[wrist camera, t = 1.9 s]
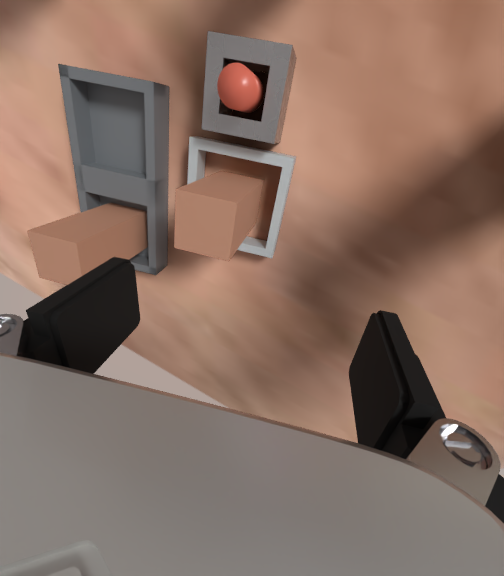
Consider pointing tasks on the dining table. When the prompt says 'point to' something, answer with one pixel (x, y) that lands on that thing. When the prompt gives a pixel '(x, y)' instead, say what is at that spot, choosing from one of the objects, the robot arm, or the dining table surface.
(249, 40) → the grey square holder
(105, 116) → the grey two-slot rack
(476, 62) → the dining table surface
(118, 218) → the block
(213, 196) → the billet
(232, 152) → the light grey square frame
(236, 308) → the dining table surface
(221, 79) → the red egg shape
